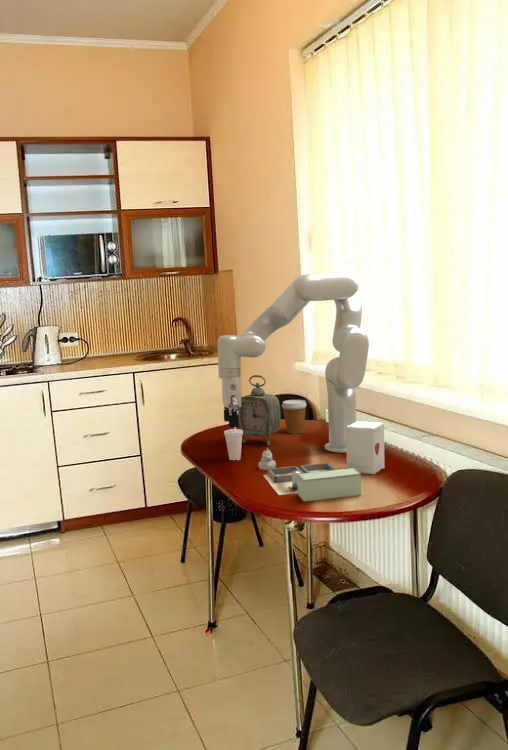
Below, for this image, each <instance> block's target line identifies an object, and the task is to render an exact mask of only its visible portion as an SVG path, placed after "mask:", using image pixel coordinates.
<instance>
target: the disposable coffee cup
mask: <svg viewBox="0 0 508 750" xmlns="http://www.w3.org/2000/svg"><path fill="white" fill-rule="evenodd" d="M307 405H308V404H307V402H306V400H304V399H288V400H284V401H282V404H281V407H282V409H283V411H282V412H283V415H284V422H285V428H286V433H287V432H288V433H291V434H290V435H299V434H298V433H301V434H303V433H305V432H304V431H305V430H304V429H305V421H306V420H305V419H306V418H305V417H306V408H307ZM288 433H287V434H288Z"/></svg>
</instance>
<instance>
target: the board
mask: <svg viewBox="0 0 508 750" xmlns="http://www.w3.org/2000/svg"><path fill="white" fill-rule="evenodd" d="M320 471H328V470H327V469H324V470H314V471H309V472H320ZM291 474H292V473H286V474H276V476H282V475H291ZM262 476H263V477H264V478H265V480H266V481H267V482H268V483H269V485H270V486H271V487H272V489H273V490H274V491H275V492H276V493H277V495H278V496H284V495H293V494H298V490H295V489H292V481H289V482H280V483H274V481H273V480H272V479H271V478H270V476H269V475H268V474H263V475H262Z"/></svg>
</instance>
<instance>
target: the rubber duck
mask: <svg viewBox="0 0 508 750" xmlns="http://www.w3.org/2000/svg"><path fill="white" fill-rule="evenodd" d="M276 466H277V463H276V460H274V459H273V453H272V452H271V450H270V449H269V448H268V447H266V450H265V449H264V450H263V451H262V453H261V458H260V461H259V462H258V469H259V470H261V471H268V469H272V468H277V467H276Z"/></svg>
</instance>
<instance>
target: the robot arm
mask: <svg viewBox="0 0 508 750" xmlns="http://www.w3.org/2000/svg"><path fill="white" fill-rule="evenodd" d="M358 289H359V281H358V278H357V277H356V276H355V275H354V274H352V273H350V272H333V273H324V274H322V273H321V274H301V275H299V276H297V277H296V278H295V279H294V280H293V281H292V282H291V283H290V284H289V286H288V287H287V288H286V289H285V290H284V291H283V292H282V293H281V294H280V295H279V297H277V299H276V300H275V301H274V302H272V304H271V305H269V307H267V308H266V309H265V310H264V311H263V312H262V313H261V314H259V316H258V317H256V318H255V319H254V320H253V321H252V322H251V324H250V325H249V326H247V328H246V329H245V330H244V331H242V333H241V335H240V336H239V335H235V334H224V335H220V336H218V338H217V359H218V360H217V366H218V378H219V379H221V396H222V398H221V399H222V404H223V421H224V422H228V427H229V428H234V427H236V428H238V427H239V415H238V407H239V408H240V407H241V397H242V394H241V393H242V392H241V383H240V379H241V378H242V357H243V358H258V357H261V356H262V355H263V354H264V353H265V351H266V340H267V339H268V338H269V337H270V336H271V335H272V334H273V333H275V332H276V331H278V330H279V329H281V328H283V327H285V326H287V325H289V324H290V323H292V321H293V320H294V319H295V318H296V317H297V316H298V315H299V314H300V312H302V310H303V309H304V308H305V307H306V306H307V305H308V304H309V303H310V302H319V301H321V302H323V301H333V302H334V304H335V309H336V310H335V321H334V328H333V335H332V345H333V348H334V349H335V350H336V351H337V352H338V353H339V355H338V356H336V357H334V358H332V359H330V360H329V361H328V363H327V365H326V367H325V370H324V374H325V375H324V376H325V377H324V378H325V383H326V390H327V410H328V411H327V412H328V413H327V414H328V415H327V417H328V441H329V442H327V443H325V444H324V449H325V451H329V452H332V453H342V454H343V453H347V449H346V426H349V425H351V424H352V423H355V422H357V396H356V395H357V394H356V388H358V387H359V386H360V385H361V384H362V382H363V381H364V378H365V374H366V368H367V362H368V356H369V349H370V348H369V347H370V341H369V337H368V334H367V333H366V332H365V331H364V330H363V329H362V328H361V323H362V314H363V312H362V311H363V308H362V307H363V306H362V301H361V297H360V295H359V293H358ZM237 406H238V407H237Z"/></svg>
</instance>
